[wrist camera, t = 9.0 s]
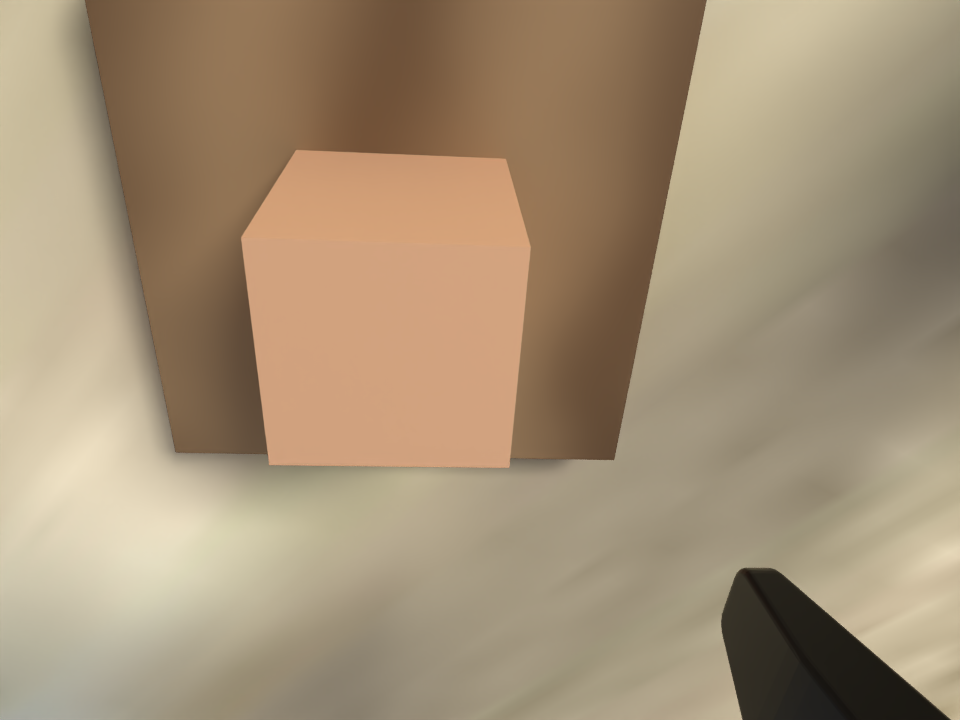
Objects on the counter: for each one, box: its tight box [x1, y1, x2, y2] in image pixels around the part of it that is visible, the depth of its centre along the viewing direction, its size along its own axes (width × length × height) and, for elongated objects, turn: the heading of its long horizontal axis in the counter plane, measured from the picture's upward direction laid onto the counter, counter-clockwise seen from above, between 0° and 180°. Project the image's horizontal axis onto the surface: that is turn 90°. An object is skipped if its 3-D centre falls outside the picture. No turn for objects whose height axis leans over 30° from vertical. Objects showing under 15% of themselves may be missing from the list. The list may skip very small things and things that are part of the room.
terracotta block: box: [241, 150, 531, 468], centre depth 15 cm, size 4×4×5 cm
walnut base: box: [85, 0, 707, 460], centre depth 18 cm, size 12×12×2 cm
